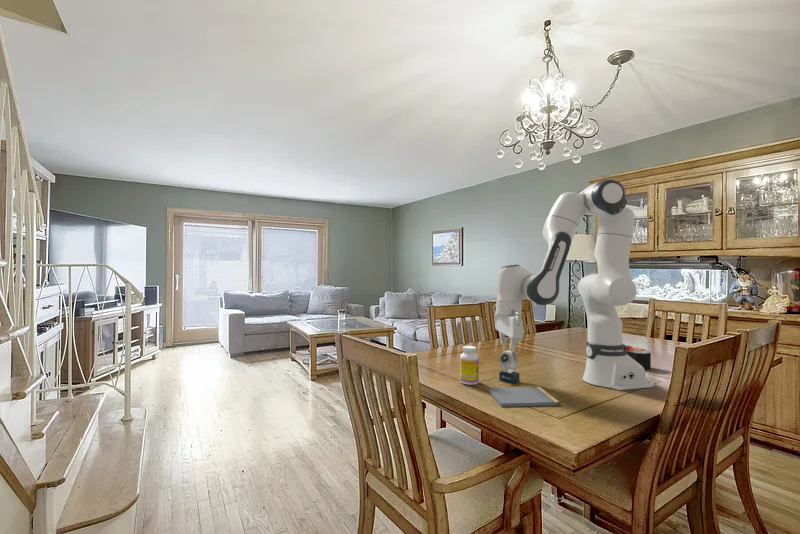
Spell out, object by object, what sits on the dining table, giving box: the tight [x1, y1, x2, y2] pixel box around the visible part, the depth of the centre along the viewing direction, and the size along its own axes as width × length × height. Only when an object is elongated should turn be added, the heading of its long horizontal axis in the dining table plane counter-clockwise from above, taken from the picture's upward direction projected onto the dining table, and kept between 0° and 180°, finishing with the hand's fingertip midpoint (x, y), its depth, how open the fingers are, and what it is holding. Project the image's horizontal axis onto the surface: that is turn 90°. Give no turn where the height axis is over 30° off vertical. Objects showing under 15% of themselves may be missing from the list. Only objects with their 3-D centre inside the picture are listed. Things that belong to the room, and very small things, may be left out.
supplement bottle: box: [459, 345, 480, 386], centre depth 134 cm, size 7×7×13 cm
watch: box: [498, 349, 520, 385], centre depth 136 cm, size 6×8×11 cm
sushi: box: [626, 346, 652, 371], centre depth 153 cm, size 8×8×8 cm
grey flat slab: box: [487, 386, 561, 408], centre depth 119 cm, size 18×14×1 cm
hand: (507, 347), depth 136 cm, fingers open, 8 cm apart
